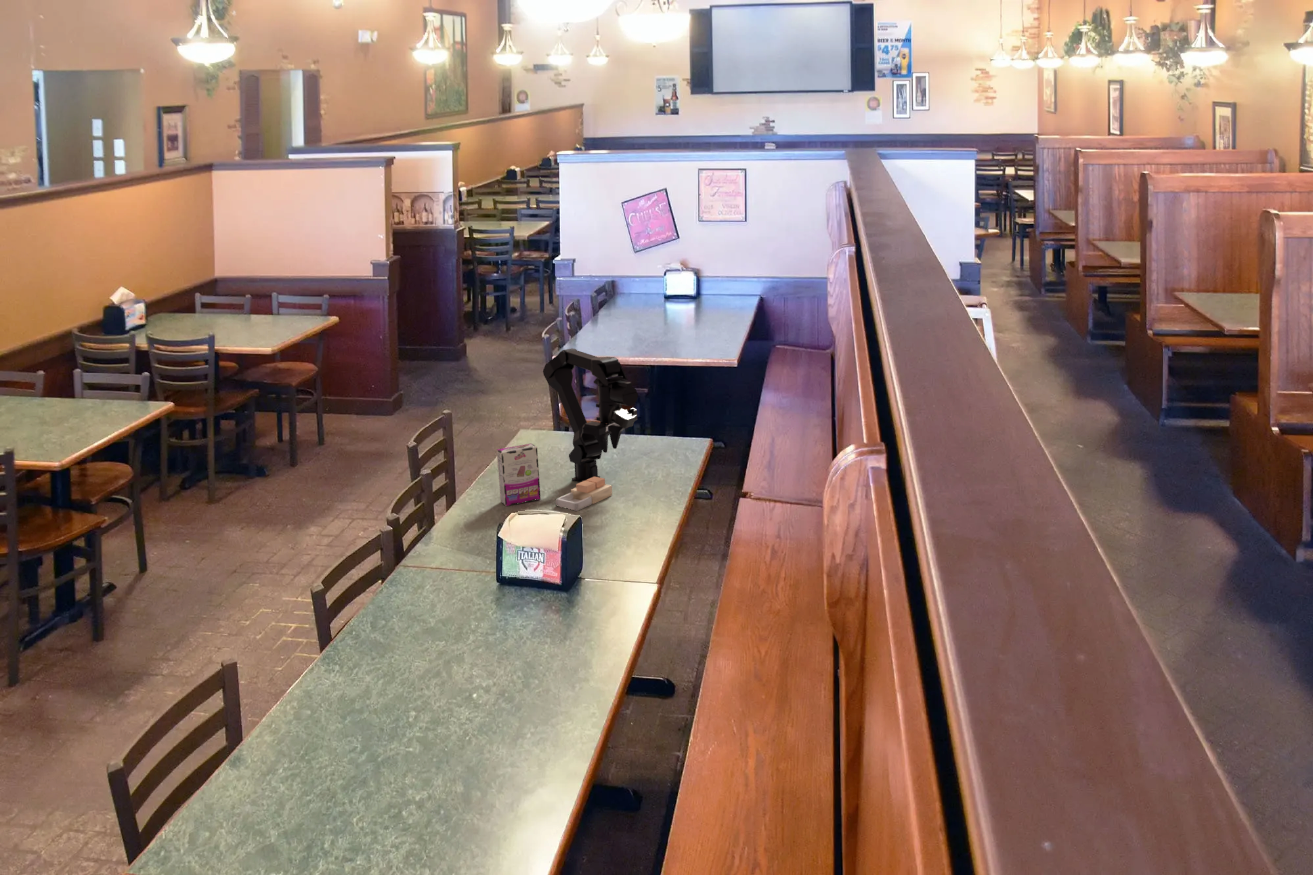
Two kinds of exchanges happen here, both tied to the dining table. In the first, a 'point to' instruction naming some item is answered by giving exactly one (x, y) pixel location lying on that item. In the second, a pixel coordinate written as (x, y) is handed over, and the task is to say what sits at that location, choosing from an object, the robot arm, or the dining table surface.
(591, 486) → the tile front
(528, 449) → the candy bar box
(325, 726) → the dining table surface
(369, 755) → the dining table surface
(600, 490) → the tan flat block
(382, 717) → the dining table surface
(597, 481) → the tile rear
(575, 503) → the tray
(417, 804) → the dining table surface
